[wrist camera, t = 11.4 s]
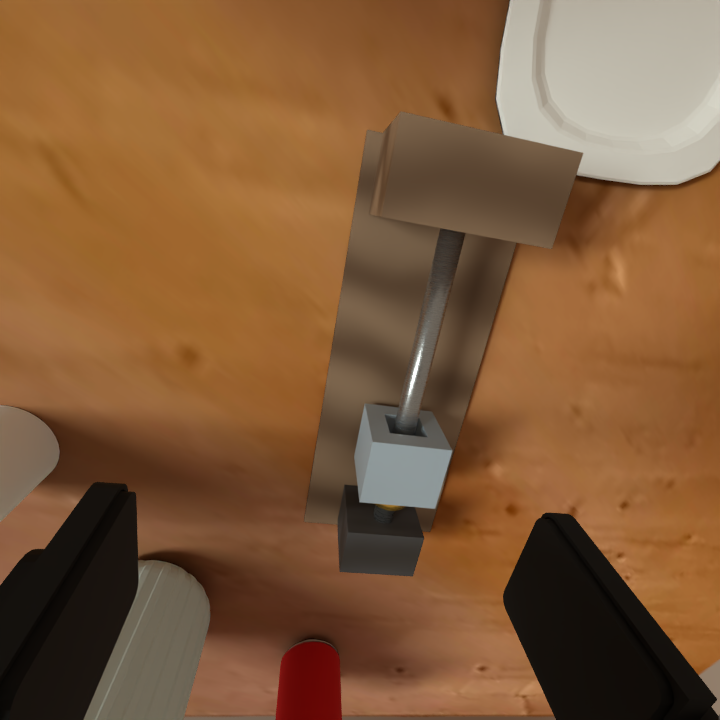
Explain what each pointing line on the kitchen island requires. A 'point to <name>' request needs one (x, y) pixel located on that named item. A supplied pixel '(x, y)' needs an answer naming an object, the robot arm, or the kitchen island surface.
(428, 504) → the grey sliding block
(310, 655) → the beverage can
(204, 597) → the vase
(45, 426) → the cylindrical container
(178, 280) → the kitchen island surface
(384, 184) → the slide base
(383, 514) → the metal rod
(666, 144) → the plate
